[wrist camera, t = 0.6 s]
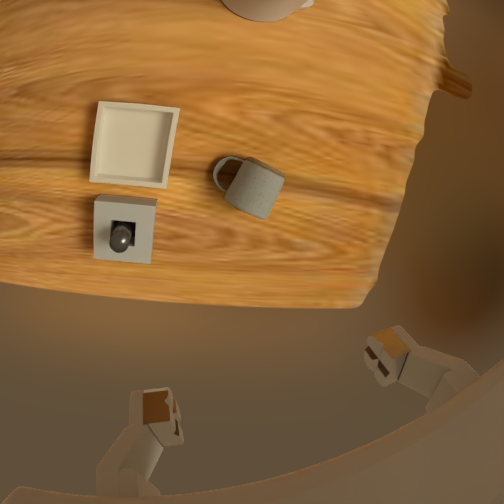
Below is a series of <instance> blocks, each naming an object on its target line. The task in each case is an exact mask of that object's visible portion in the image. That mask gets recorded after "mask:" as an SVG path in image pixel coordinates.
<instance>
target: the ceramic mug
mask: <svg viewBox="0 0 504 504" xmlns="http://www.w3.org/2000/svg"><path fill="white" fill-rule="evenodd" d="M232 159H233V160H238V161H240V162H242V165H241V167H240V169H239V170H238V172H237V175H236V176H235V178H234V180H233V181H232V183H231V185H230V187H229V189H228V190H226V189H225V188H223V187H222V186H221V184H220V183H219V182H218V179H217V174H218V172H219V170H220V169H221V167H222V166H223V165H225V162H226V161H227V160H232ZM213 179H214V181H215V183H216V185H217V186H218V187H219V189H221V190H222V191H223V192H224V193H225V196H224V199H225V201H227V202H228V203H229V204H230V205H232V206H234V207H236V208H237V209H239V210H241V211H243V212H245V213H247V214H250V215H252V216H254V217H257V218H260V219H267V217H268V215H269V213H270V211H271V209H272V207H273V205H274V202H275V200H276V198H277V196H278V194H279V192H280V190H281V188H282V186H283V183H284V179H285V175H284V173H283V172H281V171H279V170H277V169H275V168H273V167H271V166H269V165H267V164H265V163H263V162H261V161H259V160H257V159H255V158H252V157H249V158H247V159H246V160H242V159H240V158H237V157H226V158H223V159H222V160H220V161H219V162H218V163H217V165H216V166H215V168H214V171H213Z"/></svg>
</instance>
